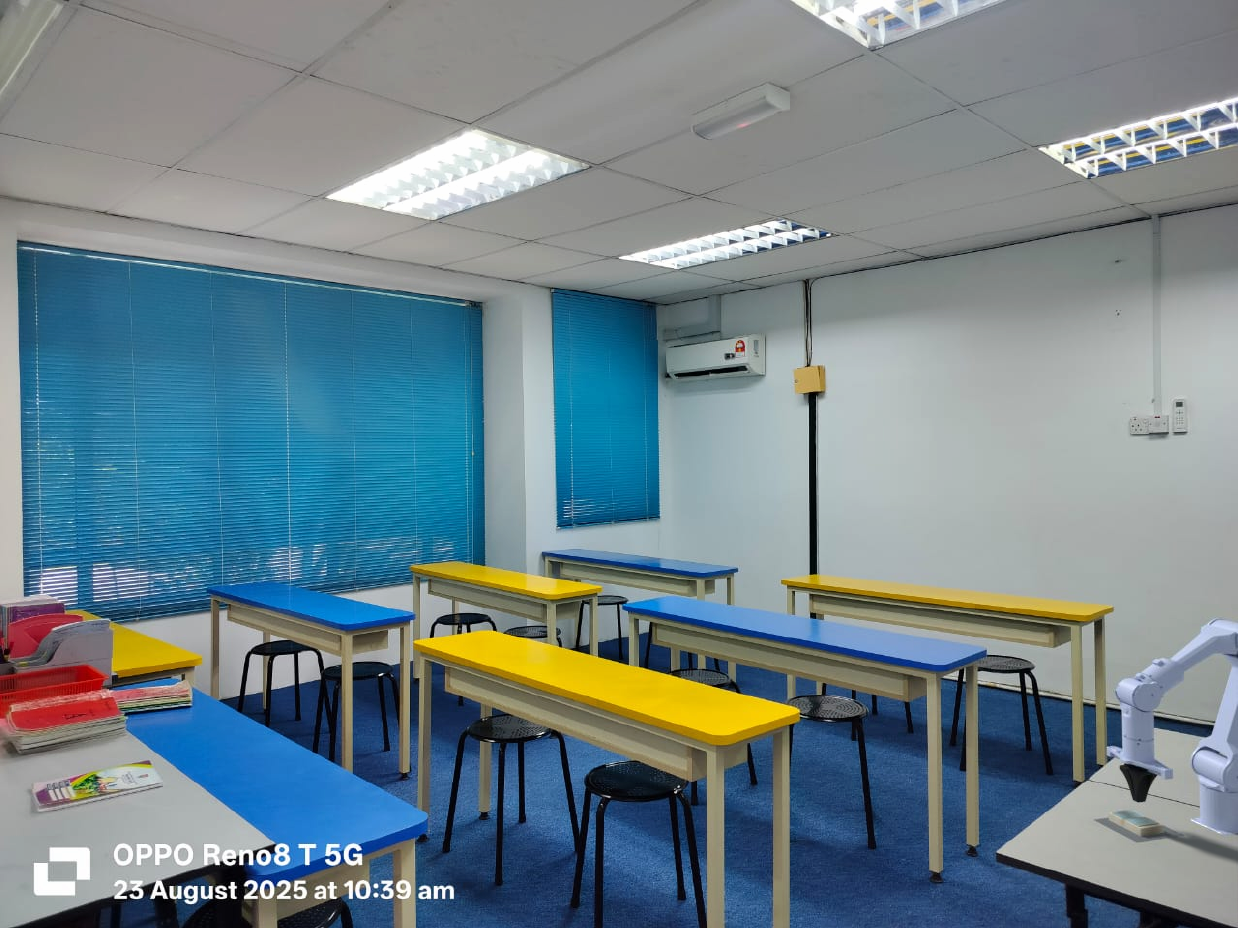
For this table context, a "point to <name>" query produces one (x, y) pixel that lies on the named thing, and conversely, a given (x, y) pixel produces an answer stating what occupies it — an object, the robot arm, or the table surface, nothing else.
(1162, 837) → the rubber mat
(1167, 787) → the table surface
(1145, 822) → the birch framed mirror
